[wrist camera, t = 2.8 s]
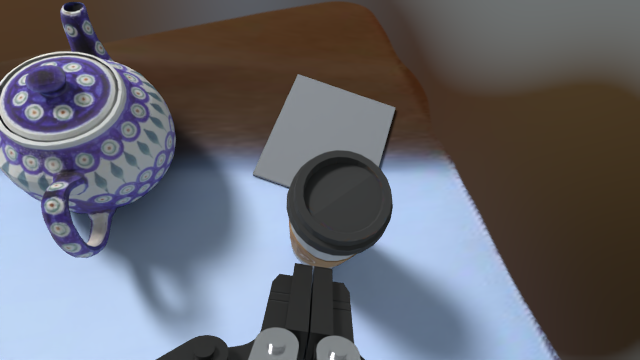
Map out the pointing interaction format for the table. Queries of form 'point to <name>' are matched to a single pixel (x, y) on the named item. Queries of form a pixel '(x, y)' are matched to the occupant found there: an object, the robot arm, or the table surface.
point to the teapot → (82, 134)
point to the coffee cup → (337, 208)
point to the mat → (322, 129)
